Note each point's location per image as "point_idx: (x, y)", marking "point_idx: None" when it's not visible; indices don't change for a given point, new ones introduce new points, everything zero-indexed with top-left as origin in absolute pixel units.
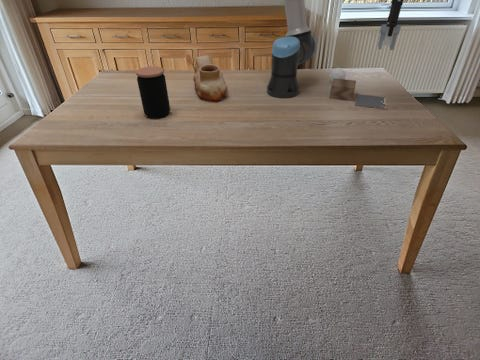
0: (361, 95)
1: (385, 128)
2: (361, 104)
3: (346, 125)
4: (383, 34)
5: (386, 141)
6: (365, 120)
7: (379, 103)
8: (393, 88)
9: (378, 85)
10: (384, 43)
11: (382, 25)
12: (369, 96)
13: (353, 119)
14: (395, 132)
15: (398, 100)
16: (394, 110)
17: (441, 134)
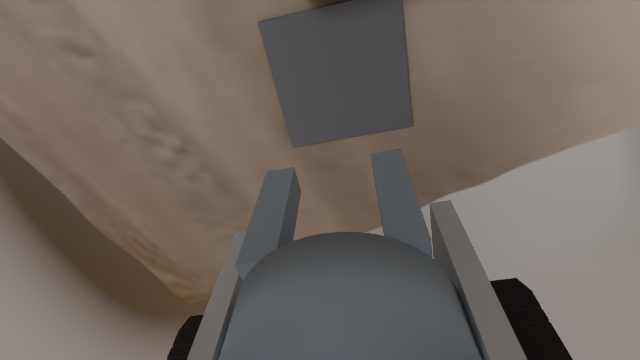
0: (388, 19)
1: (140, 165)
2: (277, 48)
3: (54, 44)
4: (244, 279)
5: (64, 179)
6: (148, 97)
7: (328, 113)
8: (548, 131)
9: (580, 62)
10: (233, 247)
11: (332, 321)
12: (391, 58)
13: (123, 54)
14: (137, 192)
15: (406, 167)
16: (300, 168)
17: (211, 278)
